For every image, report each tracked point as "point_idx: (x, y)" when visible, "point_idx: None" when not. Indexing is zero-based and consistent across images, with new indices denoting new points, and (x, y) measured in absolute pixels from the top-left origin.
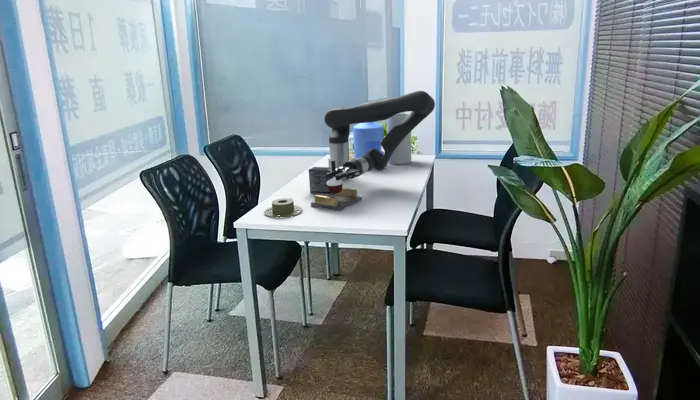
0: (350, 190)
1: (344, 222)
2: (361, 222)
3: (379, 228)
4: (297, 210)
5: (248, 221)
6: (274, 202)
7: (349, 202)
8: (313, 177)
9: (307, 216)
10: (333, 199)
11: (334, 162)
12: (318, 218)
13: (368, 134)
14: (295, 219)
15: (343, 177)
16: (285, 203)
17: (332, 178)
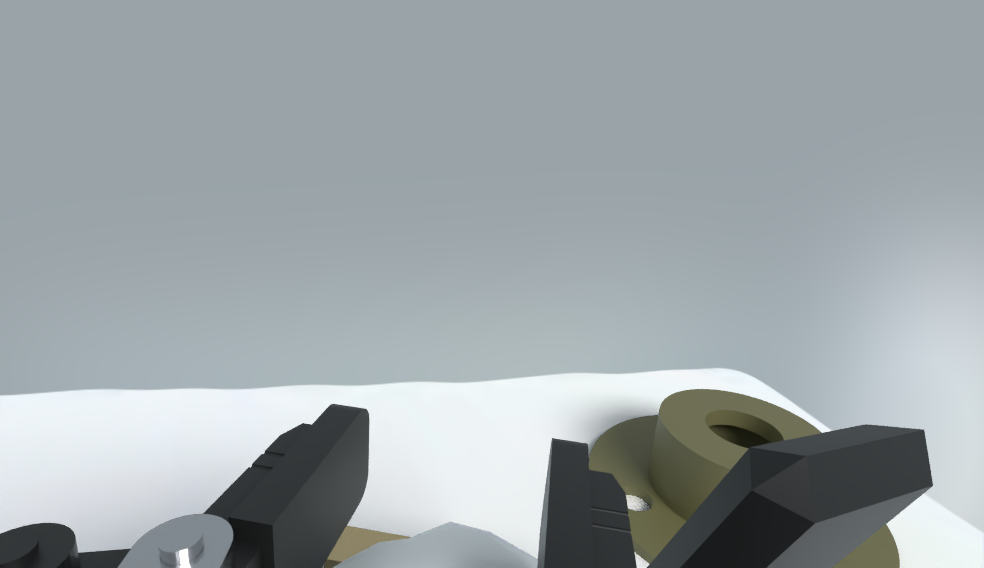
0: None
1: (230, 429)
2: (106, 442)
3: (7, 399)
4: (645, 512)
5: (726, 381)
6: (768, 411)
7: None
8: None
9: (507, 462)
10: (360, 535)
11: (708, 510)
12: (418, 449)
13: None
14: (542, 421)
15: None
16: (682, 406)
17: (471, 551)
